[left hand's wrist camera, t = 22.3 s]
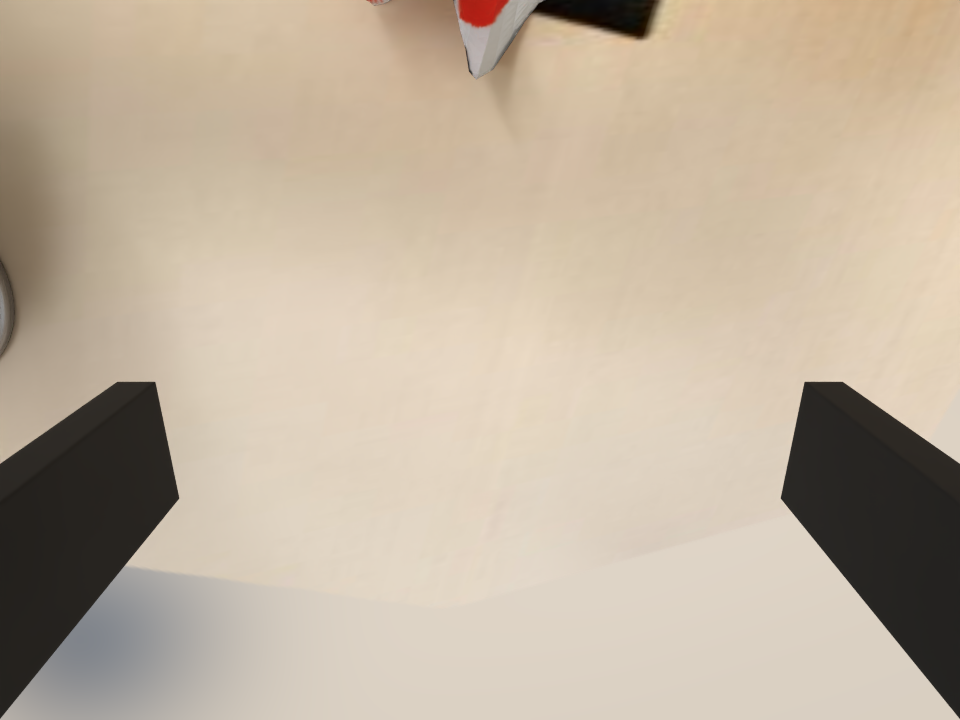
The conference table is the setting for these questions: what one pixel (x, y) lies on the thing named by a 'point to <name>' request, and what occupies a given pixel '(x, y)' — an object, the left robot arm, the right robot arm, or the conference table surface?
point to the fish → (488, 28)
